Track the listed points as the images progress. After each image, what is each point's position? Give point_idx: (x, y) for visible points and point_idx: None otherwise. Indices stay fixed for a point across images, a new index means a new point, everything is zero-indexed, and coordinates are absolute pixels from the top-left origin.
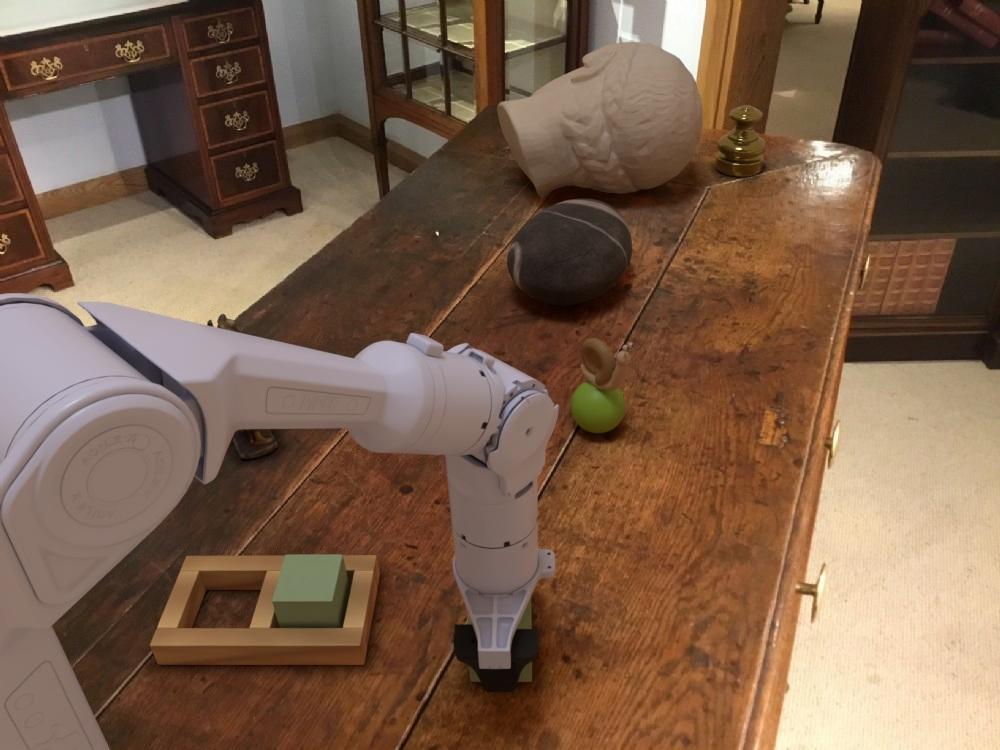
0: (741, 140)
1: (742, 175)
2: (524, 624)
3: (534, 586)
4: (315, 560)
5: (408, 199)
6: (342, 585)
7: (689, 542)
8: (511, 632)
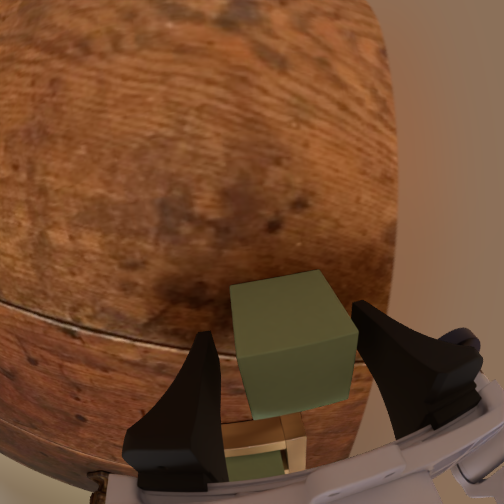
0: None
1: None
2: (322, 349)
3: (417, 453)
4: None
5: None
6: (244, 465)
7: (13, 70)
8: (498, 425)
